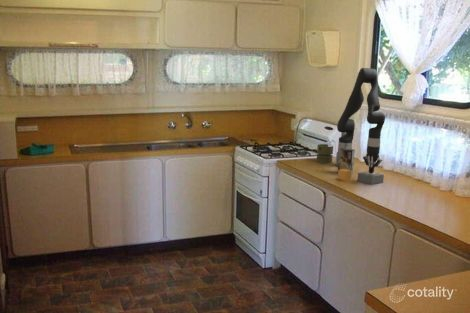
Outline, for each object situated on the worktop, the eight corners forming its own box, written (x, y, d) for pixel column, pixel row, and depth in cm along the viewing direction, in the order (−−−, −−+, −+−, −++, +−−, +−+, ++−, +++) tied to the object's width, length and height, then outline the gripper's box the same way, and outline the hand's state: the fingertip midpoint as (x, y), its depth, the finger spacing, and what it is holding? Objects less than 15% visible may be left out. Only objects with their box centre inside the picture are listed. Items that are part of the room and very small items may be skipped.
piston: (326, 143, 359) (336, 146, 349) (325, 159, 361) (335, 162, 352) (314, 144, 353) (324, 147, 344) (313, 160, 356) (323, 163, 346)
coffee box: (353, 173, 319) (355, 149, 316) (350, 175, 314) (352, 150, 311) (339, 171, 323) (341, 147, 320) (337, 173, 318) (338, 149, 315)
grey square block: (357, 180, 299) (358, 172, 298) (368, 178, 306) (369, 170, 305) (371, 184, 291) (372, 175, 290) (383, 182, 297) (384, 173, 296)
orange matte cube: (337, 179, 302) (338, 169, 301) (343, 178, 306) (344, 168, 304) (344, 181, 298) (345, 171, 297) (350, 180, 301) (351, 170, 300)
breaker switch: (365, 177, 298) (365, 172, 298) (369, 176, 301) (370, 171, 300) (371, 178, 295) (371, 174, 294) (375, 178, 297) (376, 173, 297)
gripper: (386, 146, 291) (383, 174, 294) (368, 143, 301) (366, 170, 305) (378, 147, 286) (376, 176, 290) (360, 144, 297) (358, 171, 300)
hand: (371, 173), depth 297 cm, fingers closed
